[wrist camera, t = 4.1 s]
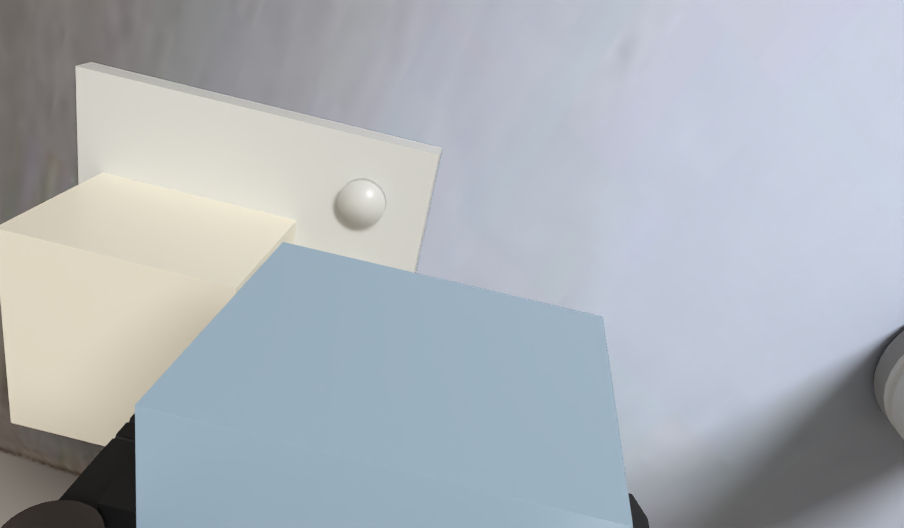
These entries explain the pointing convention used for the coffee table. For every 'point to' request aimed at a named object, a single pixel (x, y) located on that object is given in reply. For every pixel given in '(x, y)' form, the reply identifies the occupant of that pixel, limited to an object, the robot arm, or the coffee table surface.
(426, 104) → the coffee table surface
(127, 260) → the base brick
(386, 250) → the build plate
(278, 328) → the blue brick
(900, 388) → the travel mug
